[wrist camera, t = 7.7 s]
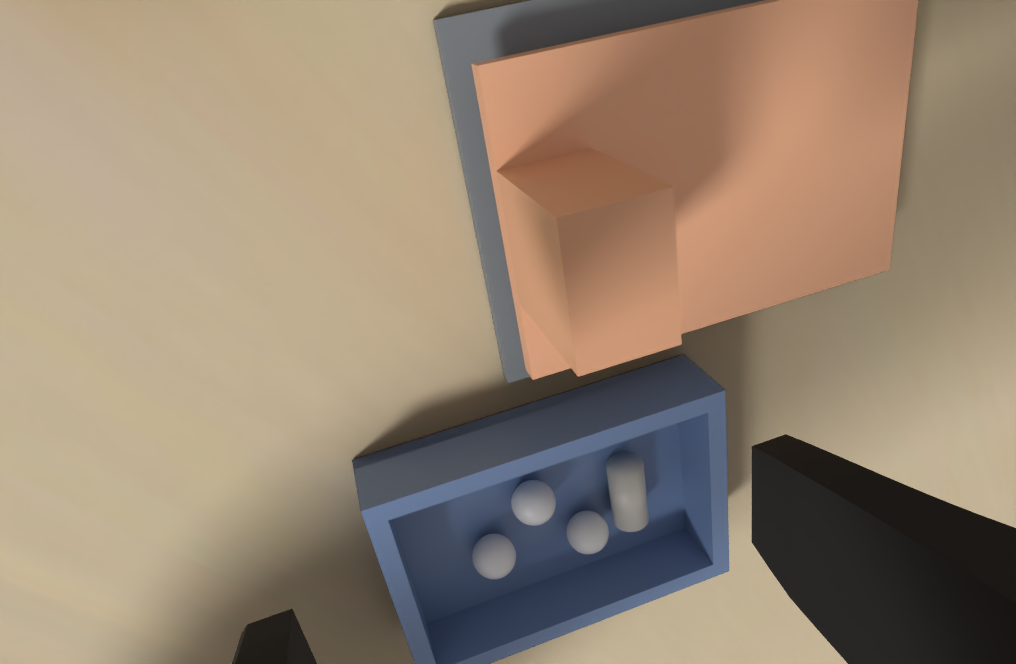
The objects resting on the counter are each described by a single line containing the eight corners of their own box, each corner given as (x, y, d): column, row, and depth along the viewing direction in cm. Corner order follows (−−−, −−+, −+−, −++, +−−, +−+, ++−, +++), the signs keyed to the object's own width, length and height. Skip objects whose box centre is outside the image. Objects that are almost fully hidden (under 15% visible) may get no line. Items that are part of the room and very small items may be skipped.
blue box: (693, 525, 26) (729, 571, 24) (411, 629, 24) (423, 689, 22) (684, 354, 23) (725, 390, 20) (351, 460, 21) (360, 511, 18)
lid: (854, 254, 22) (1010, 322, 18) (516, 355, 20) (589, 464, 15) (876, -29, 19) (1084, -38, 14) (462, 60, 16) (538, 85, 12)
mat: (869, 264, 23) (878, 268, 23) (504, 377, 21) (508, 383, 21) (899, -76, 19) (911, -77, 18) (432, 19, 16) (436, 19, 16)
